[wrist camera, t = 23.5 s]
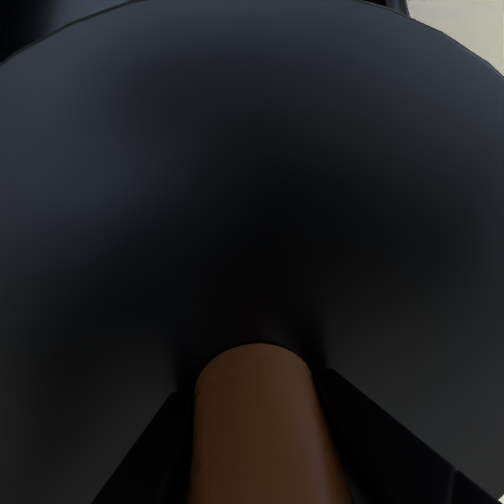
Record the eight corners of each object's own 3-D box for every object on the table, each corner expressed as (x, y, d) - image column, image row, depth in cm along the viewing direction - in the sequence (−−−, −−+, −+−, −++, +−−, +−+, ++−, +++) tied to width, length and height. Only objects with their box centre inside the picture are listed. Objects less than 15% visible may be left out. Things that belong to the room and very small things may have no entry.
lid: (369, 601, 14) (444, 857, 10) (-138, 508, 11) (-398, 830, 6) (699, 190, 10) (1168, 302, 5) (-26, -201, 6) (-775, -1064, 1)
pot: (271, 292, 21) (290, 357, 16) (-40, 187, 18) (-134, 228, 13) (419, -20, 16) (507, -60, 12) (38, -233, 13) (-61, -410, 8)
